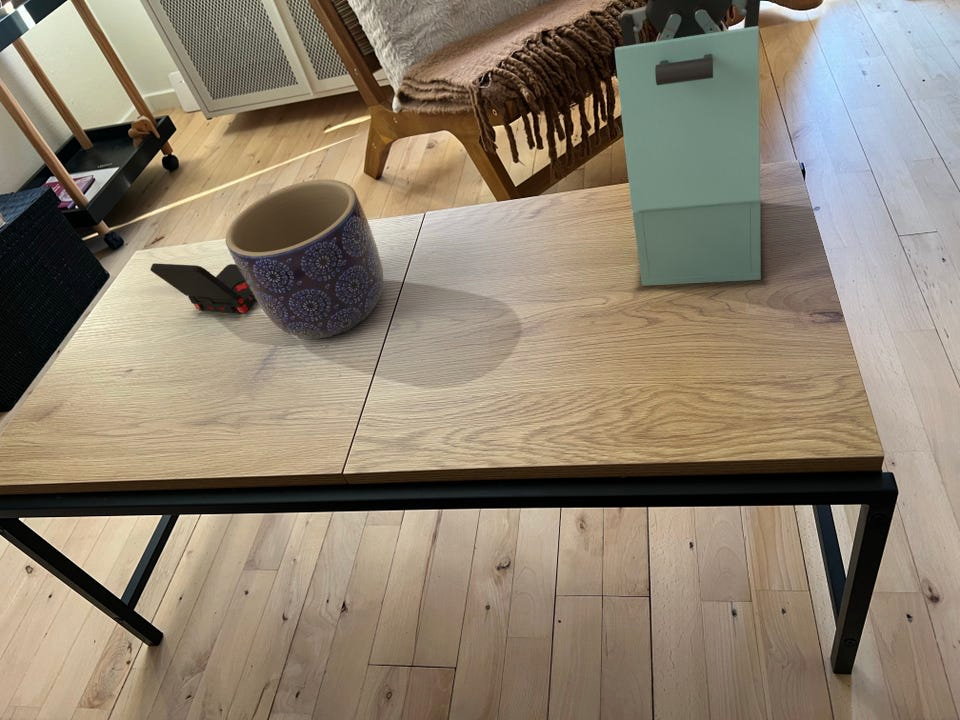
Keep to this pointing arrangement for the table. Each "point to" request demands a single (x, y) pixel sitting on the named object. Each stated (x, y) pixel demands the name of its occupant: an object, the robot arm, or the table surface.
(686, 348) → the table surface
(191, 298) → the black phone stand
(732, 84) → the lid
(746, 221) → the teal open box
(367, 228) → the planter
